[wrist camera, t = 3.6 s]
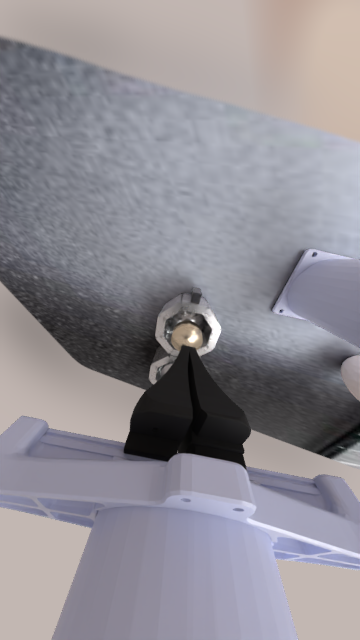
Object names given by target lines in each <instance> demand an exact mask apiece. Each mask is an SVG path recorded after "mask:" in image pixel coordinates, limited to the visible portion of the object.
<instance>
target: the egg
mask: <svg viewBox="0 0 360 640" xmlns="http://www.w3.org/2000/svg"><path fill="white" fill-rule="evenodd" d="M341 376H342V379H343V381H344V383H345V385H346V386H347V388H348V389H349V391H350V392H351V393H352V394H353V395H354V397H355V398H357V399H358V400H359V401H360V355H355V356H352V357H350V358H347V359H346V360H345V361H344V362H343V363H342V366H341Z"/></svg>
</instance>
